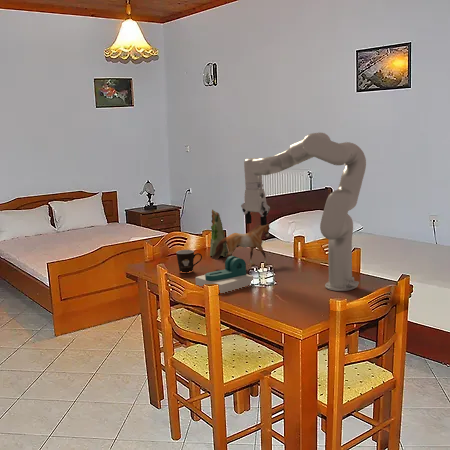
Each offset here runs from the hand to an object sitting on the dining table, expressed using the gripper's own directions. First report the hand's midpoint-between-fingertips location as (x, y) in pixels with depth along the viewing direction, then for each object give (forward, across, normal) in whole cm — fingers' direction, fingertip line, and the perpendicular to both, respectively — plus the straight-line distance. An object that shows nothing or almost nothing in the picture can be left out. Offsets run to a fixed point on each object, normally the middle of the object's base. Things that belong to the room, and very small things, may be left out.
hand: (256, 224), depth 250 cm
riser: (+25, +3, +18) cm, 31 cm away
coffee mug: (+24, +34, +14) cm, 44 cm away
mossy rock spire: (+24, +48, -17) cm, 56 cm away
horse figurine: (+25, +23, -11) cm, 36 cm away
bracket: (+21, +3, +18) cm, 28 cm away
